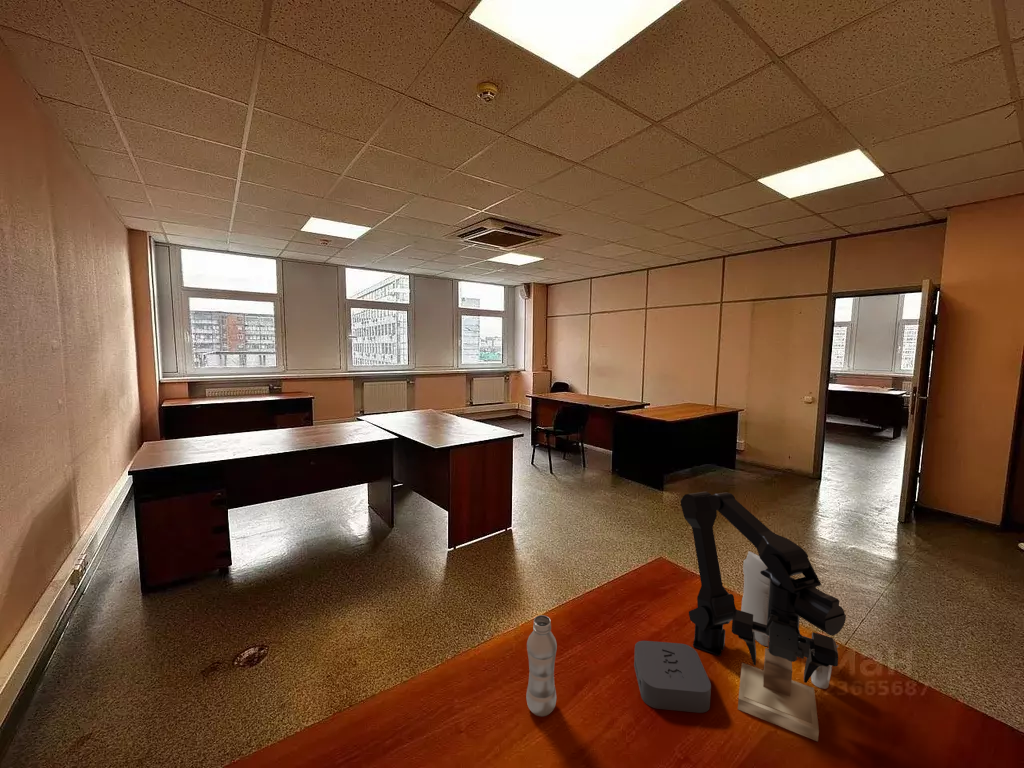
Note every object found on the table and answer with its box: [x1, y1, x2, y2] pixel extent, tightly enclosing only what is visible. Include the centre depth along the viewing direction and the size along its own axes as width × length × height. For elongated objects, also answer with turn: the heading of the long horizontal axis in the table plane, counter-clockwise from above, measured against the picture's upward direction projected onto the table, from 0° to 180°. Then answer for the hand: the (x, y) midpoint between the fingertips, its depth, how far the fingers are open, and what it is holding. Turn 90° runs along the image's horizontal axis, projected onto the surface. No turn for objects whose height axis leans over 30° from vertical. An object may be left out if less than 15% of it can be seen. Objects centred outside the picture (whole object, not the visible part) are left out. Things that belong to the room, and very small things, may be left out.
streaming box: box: [633, 640, 712, 714], centre depth 97 cm, size 14×14×5 cm
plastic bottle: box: [525, 614, 558, 717], centre depth 90 cm, size 6×7×20 cm
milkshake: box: [810, 643, 839, 690], centre depth 97 cm, size 4×5×10 cm
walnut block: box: [763, 647, 793, 696], centre depth 94 cm, size 5×5×6 cm
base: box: [737, 662, 820, 742], centre depth 92 cm, size 14×12×3 cm
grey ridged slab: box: [740, 550, 770, 648], centre depth 113 cm, size 11×4×22 cm, turn 8°
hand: (779, 672), depth 91 cm, fingers open, 9 cm apart
